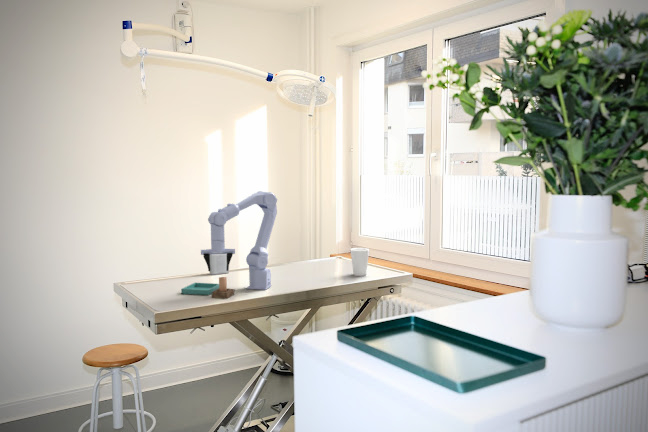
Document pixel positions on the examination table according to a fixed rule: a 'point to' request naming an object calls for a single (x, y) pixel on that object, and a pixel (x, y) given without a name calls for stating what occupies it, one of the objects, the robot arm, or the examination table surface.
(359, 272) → the foam cup
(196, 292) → the teal tray
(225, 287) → the dowel
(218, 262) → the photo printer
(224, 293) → the walnut holder
